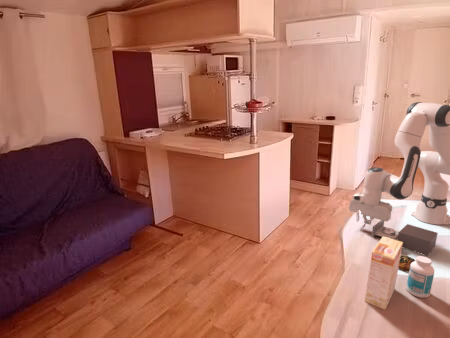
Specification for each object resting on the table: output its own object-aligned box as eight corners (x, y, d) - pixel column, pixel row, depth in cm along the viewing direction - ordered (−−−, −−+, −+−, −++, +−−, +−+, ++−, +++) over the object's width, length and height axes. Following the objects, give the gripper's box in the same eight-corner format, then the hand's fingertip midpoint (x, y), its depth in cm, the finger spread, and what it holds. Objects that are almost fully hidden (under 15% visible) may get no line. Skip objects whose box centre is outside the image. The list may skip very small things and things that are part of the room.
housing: (404, 236, 157) (407, 224, 155) (434, 246, 148) (437, 232, 146) (396, 245, 148) (398, 232, 146) (427, 256, 139) (430, 241, 137)
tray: (380, 228, 165) (382, 219, 163) (408, 237, 156) (410, 227, 154) (371, 236, 156) (372, 226, 154) (399, 245, 147) (401, 235, 145)
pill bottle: (422, 286, 117) (429, 254, 114) (433, 299, 110) (441, 265, 107) (402, 285, 118) (408, 253, 114) (411, 297, 111) (418, 264, 107)
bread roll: (423, 275, 124) (424, 264, 123) (392, 273, 128) (392, 261, 127) (417, 262, 134) (417, 251, 133) (389, 260, 138) (389, 250, 137)
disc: (396, 233, 156) (397, 230, 155) (392, 236, 152) (393, 233, 151) (384, 229, 160) (384, 226, 160) (380, 232, 156) (380, 229, 155)
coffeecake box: (374, 281, 120) (382, 235, 115) (395, 289, 115) (404, 241, 110) (363, 301, 108) (371, 251, 103) (385, 310, 104) (394, 258, 99)
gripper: (395, 202, 154) (390, 228, 158) (354, 192, 168) (351, 216, 172) (390, 205, 150) (386, 232, 153) (349, 195, 164) (346, 219, 167)
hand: (367, 223), depth 163 cm, fingers closed
